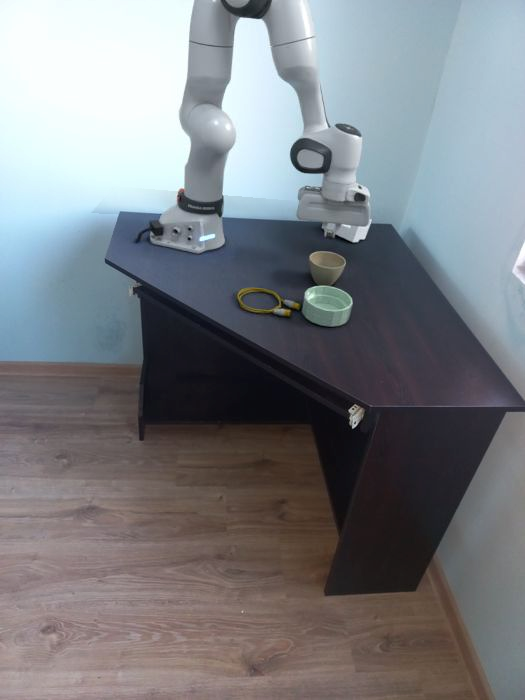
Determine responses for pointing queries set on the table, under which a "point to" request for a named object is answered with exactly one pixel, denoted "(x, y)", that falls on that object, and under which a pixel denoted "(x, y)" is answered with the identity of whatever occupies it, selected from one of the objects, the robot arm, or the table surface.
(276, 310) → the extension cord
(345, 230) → the bracket
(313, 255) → the flower pot
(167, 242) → the robot arm
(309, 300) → the bowl
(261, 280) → the table surface
